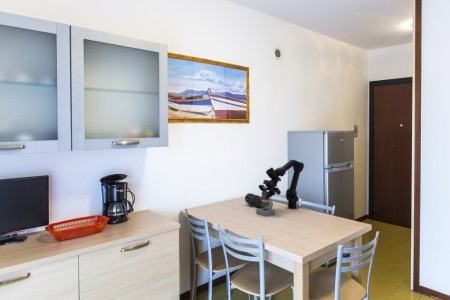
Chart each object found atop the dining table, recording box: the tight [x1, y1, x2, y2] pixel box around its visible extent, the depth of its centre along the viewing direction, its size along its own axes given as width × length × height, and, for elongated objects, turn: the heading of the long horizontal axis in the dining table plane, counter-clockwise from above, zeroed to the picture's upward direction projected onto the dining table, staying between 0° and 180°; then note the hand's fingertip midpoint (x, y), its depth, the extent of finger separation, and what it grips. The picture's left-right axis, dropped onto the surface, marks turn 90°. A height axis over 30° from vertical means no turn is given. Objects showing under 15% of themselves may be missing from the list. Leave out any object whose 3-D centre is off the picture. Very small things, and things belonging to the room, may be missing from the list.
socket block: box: [255, 207, 276, 218], centre depth 236 cm, size 10×10×4 cm
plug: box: [261, 190, 270, 207], centre depth 235 cm, size 4×4×11 cm
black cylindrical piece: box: [244, 192, 274, 209], centre depth 259 cm, size 10×28×10 cm, turn 31°
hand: (264, 198), depth 234 cm, fingers closed on plug, 4 cm apart
